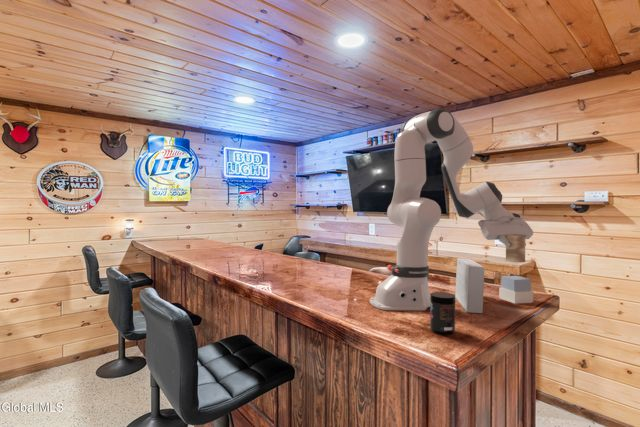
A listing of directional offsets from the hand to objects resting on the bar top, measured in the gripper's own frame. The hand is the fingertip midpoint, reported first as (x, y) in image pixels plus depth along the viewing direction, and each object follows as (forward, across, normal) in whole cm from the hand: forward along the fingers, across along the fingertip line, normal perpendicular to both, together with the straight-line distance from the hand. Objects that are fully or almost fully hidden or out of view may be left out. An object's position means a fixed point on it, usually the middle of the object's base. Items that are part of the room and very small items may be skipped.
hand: (516, 246), depth 129 cm
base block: (+15, 0, +15) cm, 21 cm away
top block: (+12, 0, +12) cm, 17 cm away
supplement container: (+33, -46, -3) cm, 57 cm away
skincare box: (+17, -22, +13) cm, 31 cm away
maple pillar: (+4, 0, +5) cm, 6 cm away
